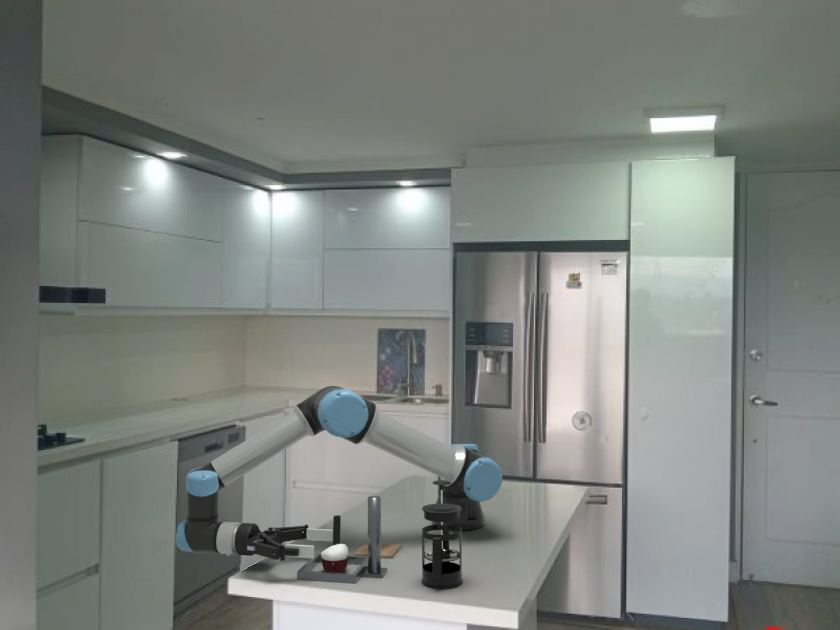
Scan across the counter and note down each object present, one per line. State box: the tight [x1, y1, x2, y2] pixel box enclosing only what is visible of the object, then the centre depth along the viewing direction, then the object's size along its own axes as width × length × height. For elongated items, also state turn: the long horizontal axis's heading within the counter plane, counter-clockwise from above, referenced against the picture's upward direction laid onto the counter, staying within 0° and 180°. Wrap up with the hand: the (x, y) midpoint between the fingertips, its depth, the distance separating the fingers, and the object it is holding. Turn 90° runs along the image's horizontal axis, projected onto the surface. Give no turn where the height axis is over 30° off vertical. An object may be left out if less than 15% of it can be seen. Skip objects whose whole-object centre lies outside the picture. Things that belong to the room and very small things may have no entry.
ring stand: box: [296, 495, 388, 584], centre depth 187 cm, size 19×14×18 cm
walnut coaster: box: [353, 542, 403, 559], centre depth 203 cm, size 10×10×1 cm
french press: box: [420, 479, 464, 590], centre depth 179 cm, size 12×9×23 cm
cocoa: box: [321, 514, 349, 573], centre depth 187 cm, size 10×6×12 cm, turn 157°
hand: (323, 543), depth 187 cm, fingers open, 13 cm apart
